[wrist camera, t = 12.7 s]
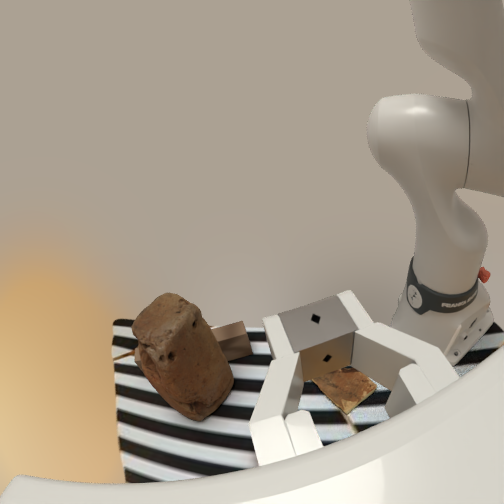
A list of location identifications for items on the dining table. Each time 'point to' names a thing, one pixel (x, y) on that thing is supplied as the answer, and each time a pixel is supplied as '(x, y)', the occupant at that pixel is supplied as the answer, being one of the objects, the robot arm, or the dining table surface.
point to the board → (225, 342)
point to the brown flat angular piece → (345, 387)
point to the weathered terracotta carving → (182, 356)
